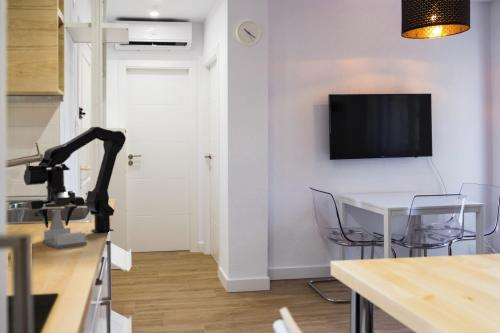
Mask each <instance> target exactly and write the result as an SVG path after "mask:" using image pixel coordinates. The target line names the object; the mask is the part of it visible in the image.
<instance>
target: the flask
mask: <svg viewBox="0 0 500 333" xmlns="http://www.w3.org/2000/svg"><path fill="white" fill-rule="evenodd" d="M61 212H62V209H53V210H51V213H52V220H51V223H50V226H49V228H48V229H49V230H56V229H64V228H65V226H64V223H63V220H62V216H61Z"/></svg>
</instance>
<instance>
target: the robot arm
mask: <svg viewBox="0 0 500 333" xmlns="http://www.w3.org/2000/svg"><path fill="white" fill-rule="evenodd" d="M126 139H127V138H126V135H125V134H124V132H123V131H120V130H110V129H107V128H103V127H100V126H90V128H89V129H88V130H85V131H84V132H82V133H80V134H79V135H77V136H76V137H74V138H71V140H68V141H66V142H64V143H63V144H59V145H55V146H53V147H50V148H47V149H46V150H45V151H44V154H43V158H42V159H41V160H40V161H39V163H38V164H37V165H30V164H29V165H26V166H25V170H24V173H23V181H24V184H25V185H26V186H33V185H35V186H37V185H44V184H46V186H45V188H46V191H47V192H46V193H47V197H46V200H44V201H43V199H38V198H37V199H29V200H28V201H27V202H26V208H27V209H29V210H34V211H37V213H39V215H40V218H41V219H42V221H43V224H44V226H45V228H46V229H49V218H48V210H49V209H48V208H47V207H51V206H52V207H53V206H56V207H61V206H64V224H65V226H68V225H69V223H70V219H71V216H72V213H73V211H74V210H75V209H77V208H78V206H84V205H85V206H86V208H87V209H88V210H89V212H90V215H91V216H94V217H93V219H94V220H93V221H94V228H92V229H91V231H92V232H95V233H99V234H100V233H107V232H113V231H114V229H113V228H111V216H114V214H115V209H114V208H113V207H112V206H111V205H110V204H109V199H110V196H109V191H108V190H109V186H110V182H111V178H112V175H113V171H114V168H115V163H116V159H117V156H118V154H119V153H120V151H122V149H123V148H124V145H125V143H126ZM94 140H98V141H102V142H103V152H104V153H103V157H102V160H101V164H100V167H99V168H100V169H99V171H98V176H97V178H96V182H95V186H94V188H93V189H92V190H87V195H86V198H85V199H84V198H83V197H82V196H76V192H75V191H74V190H68V191H67V190H66V186H65V171H70V167H68V165H66V163H65V162H66V161H67V160H68V159H69V158H70V157H72V154H73V153H75V152H76V151H78V150H80V149H81V148H83V147H85V146H87V145H88V144H90V143H91V142H93V141H94Z"/></svg>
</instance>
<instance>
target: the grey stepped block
mask: <svg viewBox="0 0 500 333" xmlns="http://www.w3.org/2000/svg"><path fill="white" fill-rule="evenodd" d="M85 233H86V232H82V231H78V232H77V231H75V232H72V231H71V227H64V229H56V230H43V239H42V243H43V244H45V245H48V246H49V247H52V248H54V249H63V248H71V247H79V246H87V244H88V243H87V241H86V234H85Z"/></svg>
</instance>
